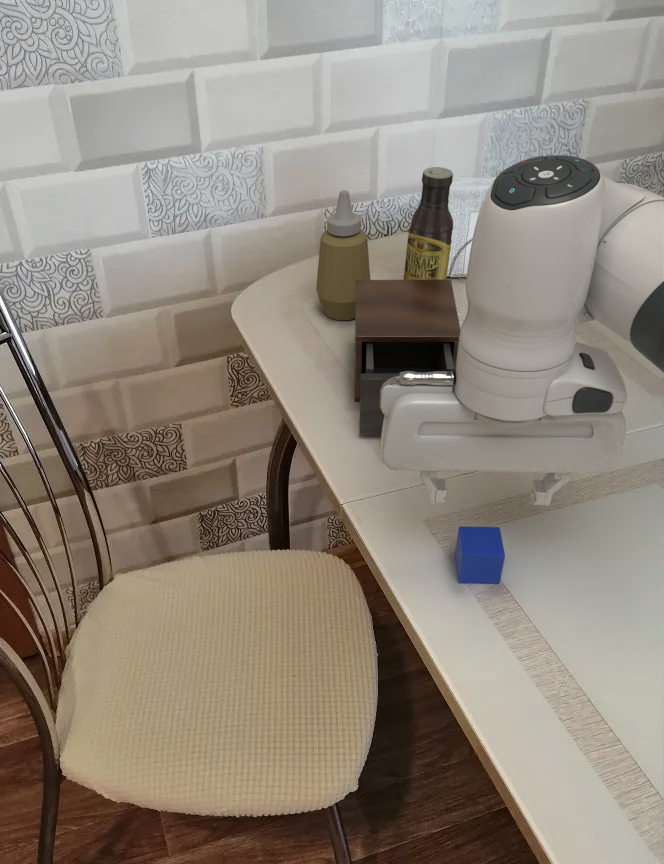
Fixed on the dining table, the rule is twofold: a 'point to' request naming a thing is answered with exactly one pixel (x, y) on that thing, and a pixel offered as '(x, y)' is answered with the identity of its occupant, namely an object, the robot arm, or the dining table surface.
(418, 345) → the dark grey drawer
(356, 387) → the wooden drawer cabinet
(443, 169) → the sauce bottle
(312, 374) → the dining table surface
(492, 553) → the block
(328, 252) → the squeeze bottle
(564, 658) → the dining table surface
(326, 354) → the dining table surface
